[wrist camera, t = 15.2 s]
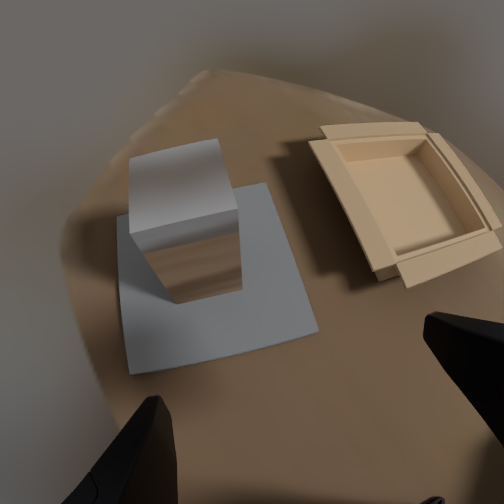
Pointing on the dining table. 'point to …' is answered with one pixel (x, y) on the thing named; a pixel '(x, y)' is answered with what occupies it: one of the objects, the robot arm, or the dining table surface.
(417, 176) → the carton
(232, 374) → the dining table surface
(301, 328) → the rubber mat
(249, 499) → the dining table surface
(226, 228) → the grey rectangular block
